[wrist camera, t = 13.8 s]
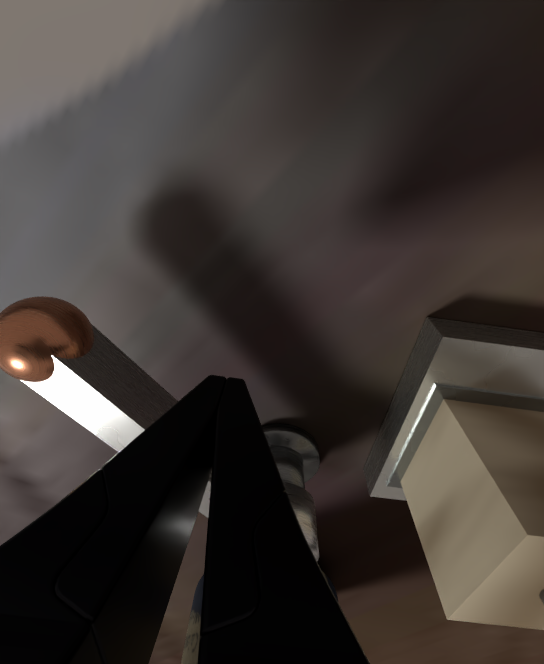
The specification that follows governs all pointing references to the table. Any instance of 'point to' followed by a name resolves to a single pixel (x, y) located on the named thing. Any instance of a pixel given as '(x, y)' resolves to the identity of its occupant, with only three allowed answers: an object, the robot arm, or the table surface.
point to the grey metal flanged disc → (293, 453)
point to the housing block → (482, 511)
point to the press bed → (453, 388)
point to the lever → (98, 382)
